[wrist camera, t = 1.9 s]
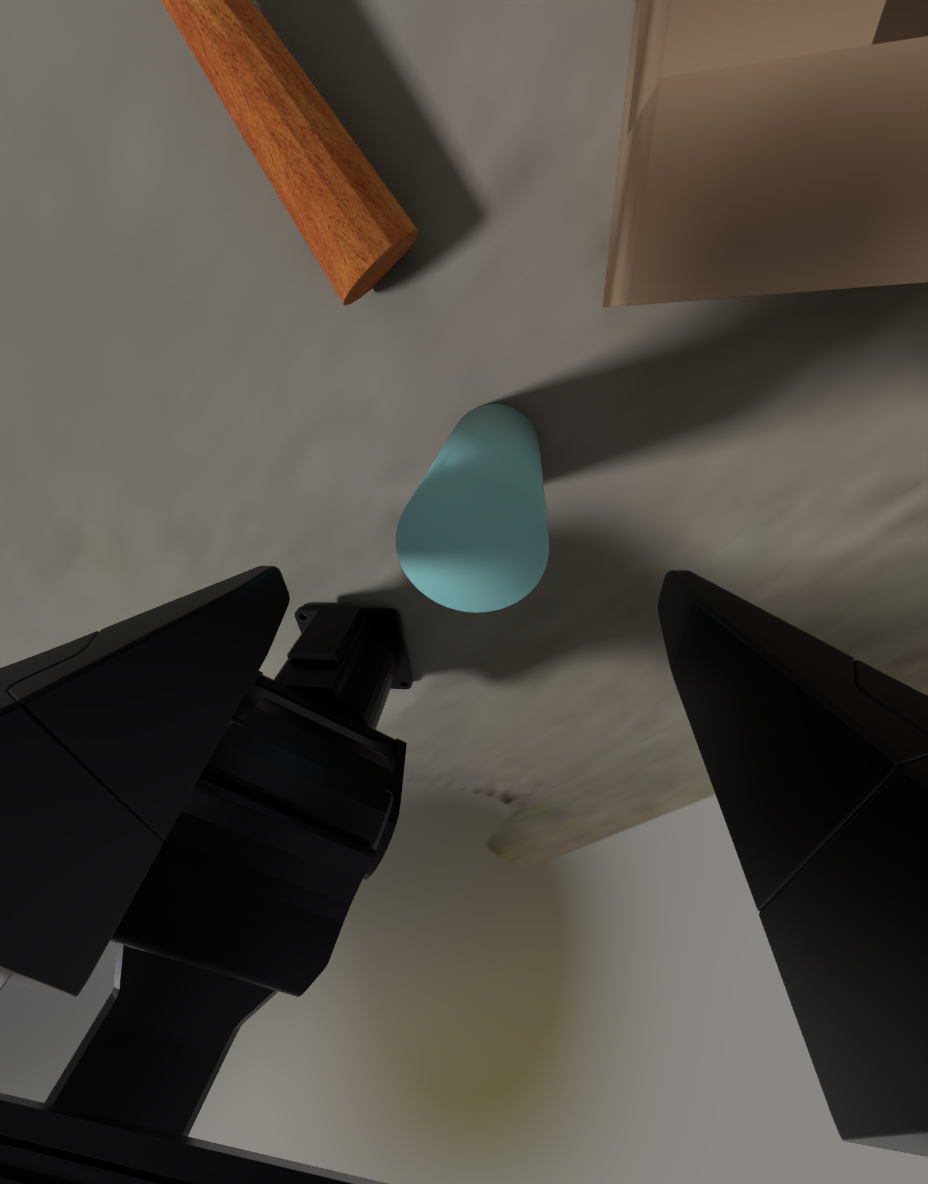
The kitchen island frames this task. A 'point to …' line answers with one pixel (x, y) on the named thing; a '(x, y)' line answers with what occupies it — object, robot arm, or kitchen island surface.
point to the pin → (479, 515)
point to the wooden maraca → (298, 144)
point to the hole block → (771, 150)
